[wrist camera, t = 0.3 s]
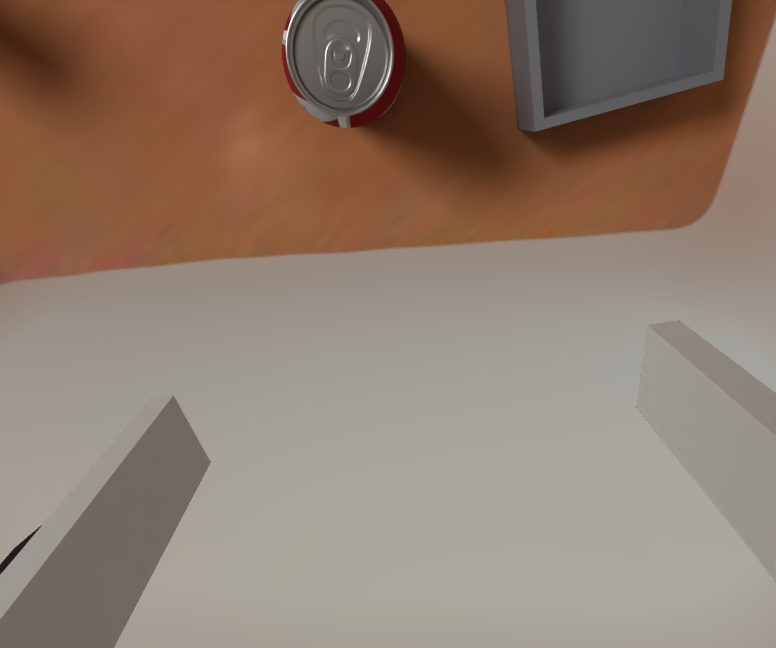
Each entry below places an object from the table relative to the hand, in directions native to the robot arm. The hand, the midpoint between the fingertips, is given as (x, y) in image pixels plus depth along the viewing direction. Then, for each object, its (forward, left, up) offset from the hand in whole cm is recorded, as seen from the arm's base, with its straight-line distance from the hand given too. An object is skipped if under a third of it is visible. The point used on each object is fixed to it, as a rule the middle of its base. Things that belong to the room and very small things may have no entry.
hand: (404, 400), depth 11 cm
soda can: (-10, -1, -27) cm, 29 cm away
